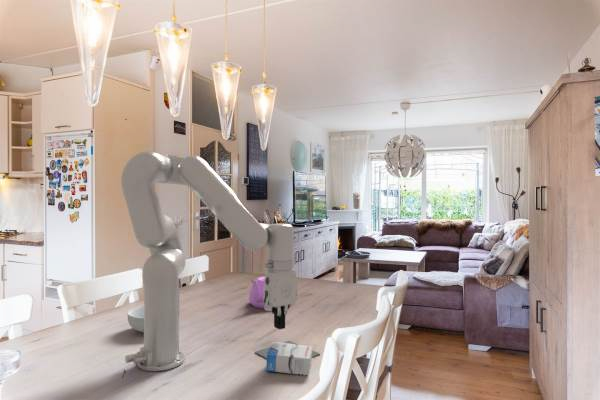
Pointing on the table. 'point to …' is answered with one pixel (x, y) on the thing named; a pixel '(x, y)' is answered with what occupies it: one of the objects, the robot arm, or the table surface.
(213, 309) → the table surface
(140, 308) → the cereal bowl
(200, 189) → the robot arm
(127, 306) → the table surface
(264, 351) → the mat
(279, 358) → the ink box
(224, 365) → the table surface
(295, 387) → the table surface
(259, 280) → the teapot
